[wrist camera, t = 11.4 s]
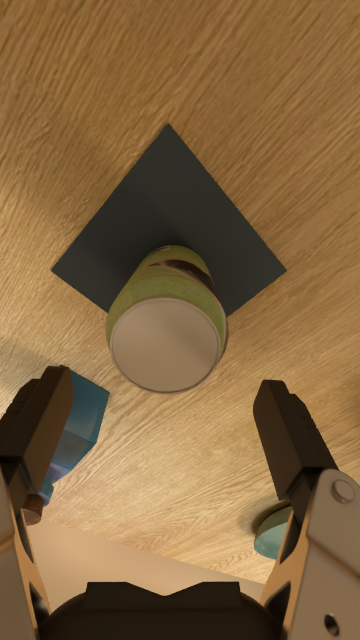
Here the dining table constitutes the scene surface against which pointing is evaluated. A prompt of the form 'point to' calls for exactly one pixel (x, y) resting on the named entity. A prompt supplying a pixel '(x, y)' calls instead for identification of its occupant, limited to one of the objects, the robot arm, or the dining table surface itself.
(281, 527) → the saucer
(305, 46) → the dining table surface
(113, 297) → the mat
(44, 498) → the perfume bottle
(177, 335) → the beverage can
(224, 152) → the dining table surface
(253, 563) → the dining table surface
